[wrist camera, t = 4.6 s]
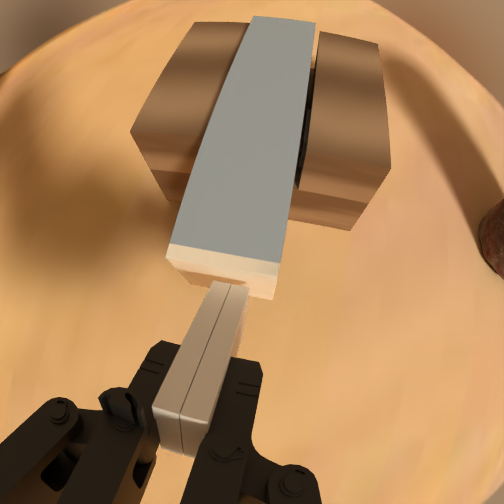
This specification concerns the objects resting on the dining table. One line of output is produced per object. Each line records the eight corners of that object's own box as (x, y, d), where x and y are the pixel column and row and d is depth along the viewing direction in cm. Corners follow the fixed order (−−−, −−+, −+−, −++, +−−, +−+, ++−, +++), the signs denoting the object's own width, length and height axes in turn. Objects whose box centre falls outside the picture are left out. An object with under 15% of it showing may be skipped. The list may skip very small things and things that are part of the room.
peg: (272, 300, 16) (277, 278, 12) (190, 284, 17) (165, 257, 12) (309, 70, 22) (315, 23, 17) (254, 63, 22) (253, 15, 17)
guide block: (349, 230, 22) (390, 168, 14) (167, 200, 24) (129, 131, 15) (354, 114, 26) (377, 44, 18) (208, 93, 27) (194, 22, 19)
